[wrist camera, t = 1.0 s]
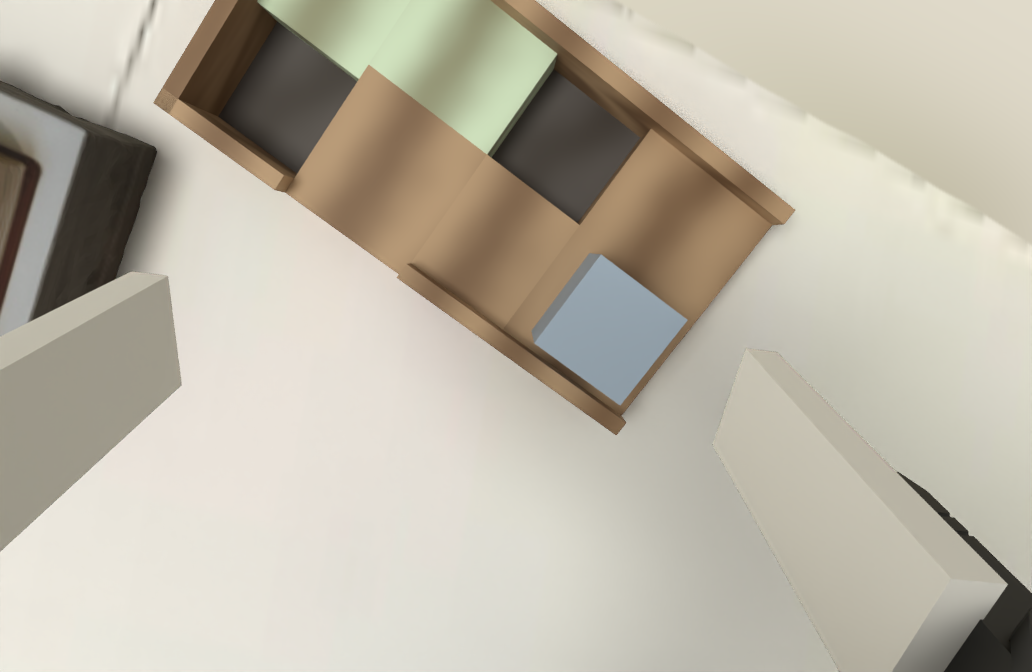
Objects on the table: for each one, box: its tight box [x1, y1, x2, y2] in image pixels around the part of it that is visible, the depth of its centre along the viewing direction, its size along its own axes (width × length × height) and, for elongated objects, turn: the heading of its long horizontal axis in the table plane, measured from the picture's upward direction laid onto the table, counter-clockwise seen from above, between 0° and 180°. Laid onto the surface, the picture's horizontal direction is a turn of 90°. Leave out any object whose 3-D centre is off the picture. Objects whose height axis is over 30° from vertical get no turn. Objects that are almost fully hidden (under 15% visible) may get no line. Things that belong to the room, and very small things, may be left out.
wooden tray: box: [154, 0, 795, 435], centre depth 34 cm, size 33×17×4 cm, turn 54°
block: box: [531, 253, 687, 405], centre depth 33 cm, size 6×6×4 cm
